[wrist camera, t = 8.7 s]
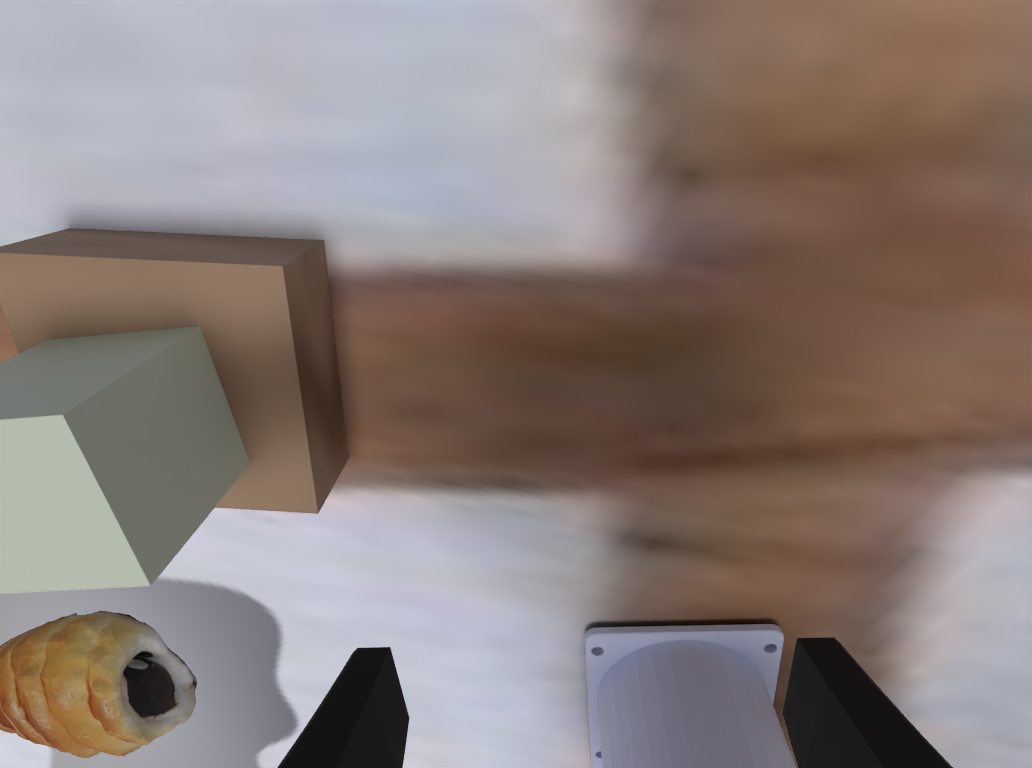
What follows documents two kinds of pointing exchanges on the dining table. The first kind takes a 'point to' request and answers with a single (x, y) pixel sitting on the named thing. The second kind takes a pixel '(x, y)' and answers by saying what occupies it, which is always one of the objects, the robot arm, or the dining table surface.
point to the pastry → (93, 685)
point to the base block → (207, 335)
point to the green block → (109, 457)
